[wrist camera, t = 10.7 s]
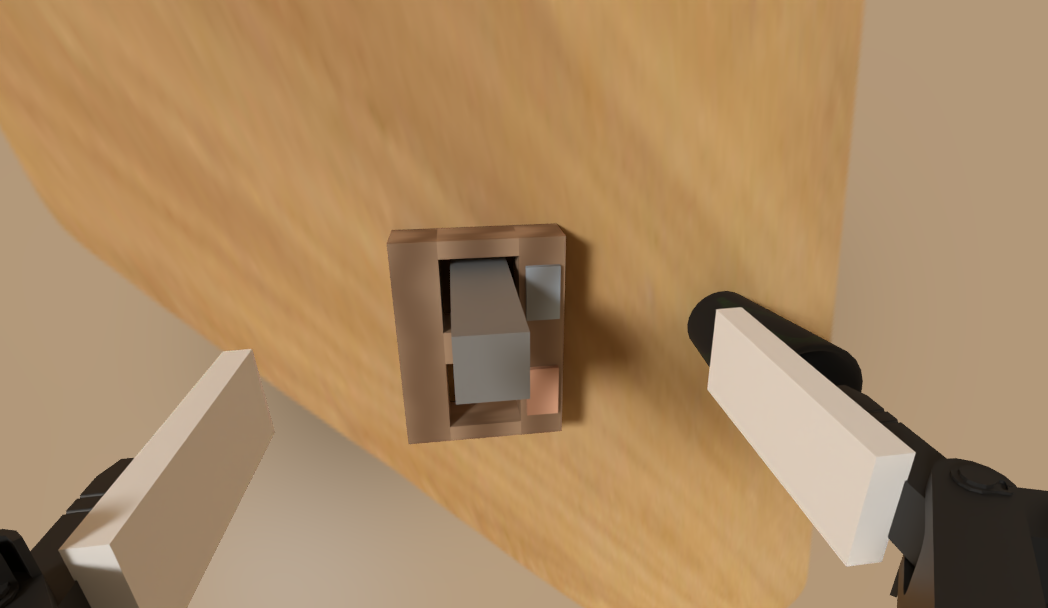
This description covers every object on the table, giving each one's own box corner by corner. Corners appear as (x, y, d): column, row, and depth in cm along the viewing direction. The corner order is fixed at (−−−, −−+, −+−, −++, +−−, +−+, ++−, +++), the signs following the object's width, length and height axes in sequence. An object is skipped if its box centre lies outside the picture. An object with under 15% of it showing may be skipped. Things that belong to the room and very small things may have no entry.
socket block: (556, 223, 40) (567, 237, 37) (553, 406, 46) (562, 433, 43) (391, 230, 39) (386, 245, 35) (411, 418, 45) (408, 447, 41)
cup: (736, 371, 47) (823, 459, 36) (660, 350, 46) (728, 436, 35) (778, 293, 45) (886, 362, 34) (700, 267, 43) (787, 331, 32)
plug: (503, 251, 41) (529, 331, 28) (504, 301, 42) (530, 398, 29) (449, 254, 40) (451, 336, 27) (452, 304, 42) (455, 404, 29)
